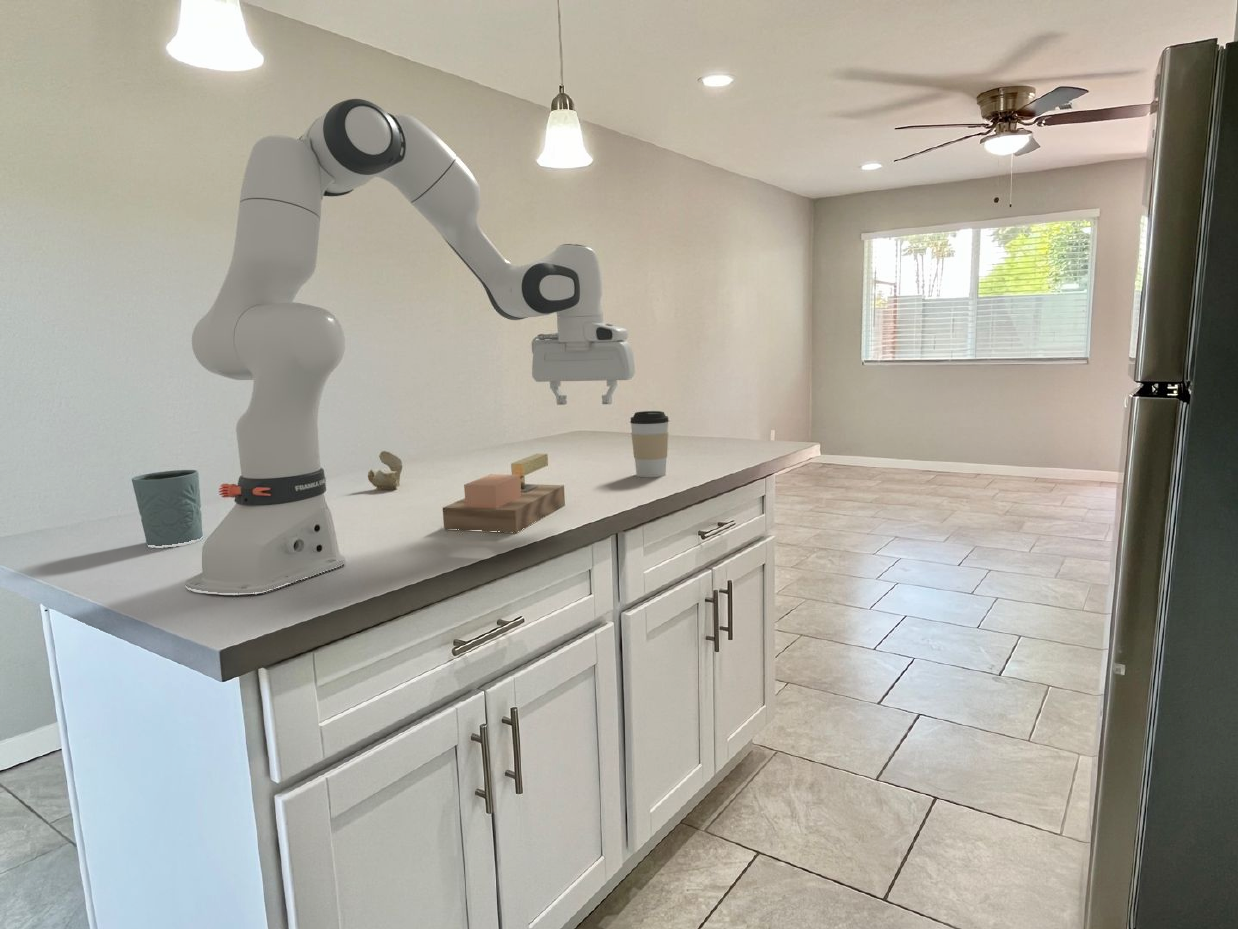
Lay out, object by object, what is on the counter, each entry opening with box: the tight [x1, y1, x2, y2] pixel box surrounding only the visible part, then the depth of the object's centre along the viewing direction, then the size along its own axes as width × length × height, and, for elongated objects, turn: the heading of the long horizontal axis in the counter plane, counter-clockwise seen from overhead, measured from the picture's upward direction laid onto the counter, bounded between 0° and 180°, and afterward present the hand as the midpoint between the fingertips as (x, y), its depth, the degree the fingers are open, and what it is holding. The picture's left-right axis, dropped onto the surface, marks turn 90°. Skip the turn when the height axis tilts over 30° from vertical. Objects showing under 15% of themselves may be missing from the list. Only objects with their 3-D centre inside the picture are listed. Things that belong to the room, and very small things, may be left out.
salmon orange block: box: [463, 473, 521, 508], centre depth 140 cm, size 10×6×4 cm, turn 162°
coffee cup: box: [629, 410, 670, 478], centre depth 182 cm, size 9×9×15 cm
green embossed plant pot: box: [131, 469, 204, 546], centre depth 136 cm, size 10×10×12 cm
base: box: [442, 483, 566, 534], centre depth 146 cm, size 22×14×4 cm, turn 162°
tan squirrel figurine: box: [367, 450, 403, 491], centre depth 178 cm, size 9×6×10 cm
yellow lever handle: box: [510, 453, 549, 488], centre depth 155 cm, size 12×2×5 cm, turn 162°
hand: (584, 404), depth 152 cm, fingers open, 8 cm apart
